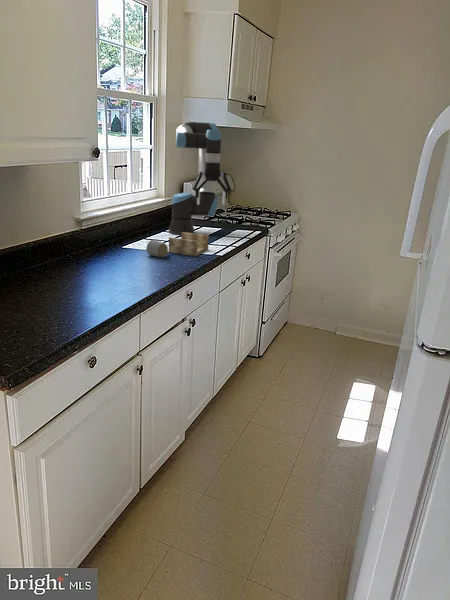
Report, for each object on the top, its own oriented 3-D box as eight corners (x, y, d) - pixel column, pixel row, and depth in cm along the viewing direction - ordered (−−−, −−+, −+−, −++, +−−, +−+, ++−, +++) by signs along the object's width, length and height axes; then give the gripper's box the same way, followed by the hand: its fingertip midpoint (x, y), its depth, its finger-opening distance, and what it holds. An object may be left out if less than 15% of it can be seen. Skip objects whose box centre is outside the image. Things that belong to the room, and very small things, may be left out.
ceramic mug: (158, 259, 232) (159, 243, 229) (146, 256, 236) (146, 240, 234) (173, 255, 240) (173, 240, 238) (160, 252, 244) (161, 237, 242)
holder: (168, 252, 245) (168, 237, 242) (182, 245, 260) (182, 232, 257) (196, 256, 241) (196, 241, 238) (208, 249, 255) (208, 235, 253)
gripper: (190, 161, 238) (189, 205, 245) (238, 163, 245) (236, 205, 252) (187, 160, 245) (186, 203, 251) (234, 162, 252) (231, 203, 259)
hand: (211, 204), depth 252 cm, fingers open, 13 cm apart
